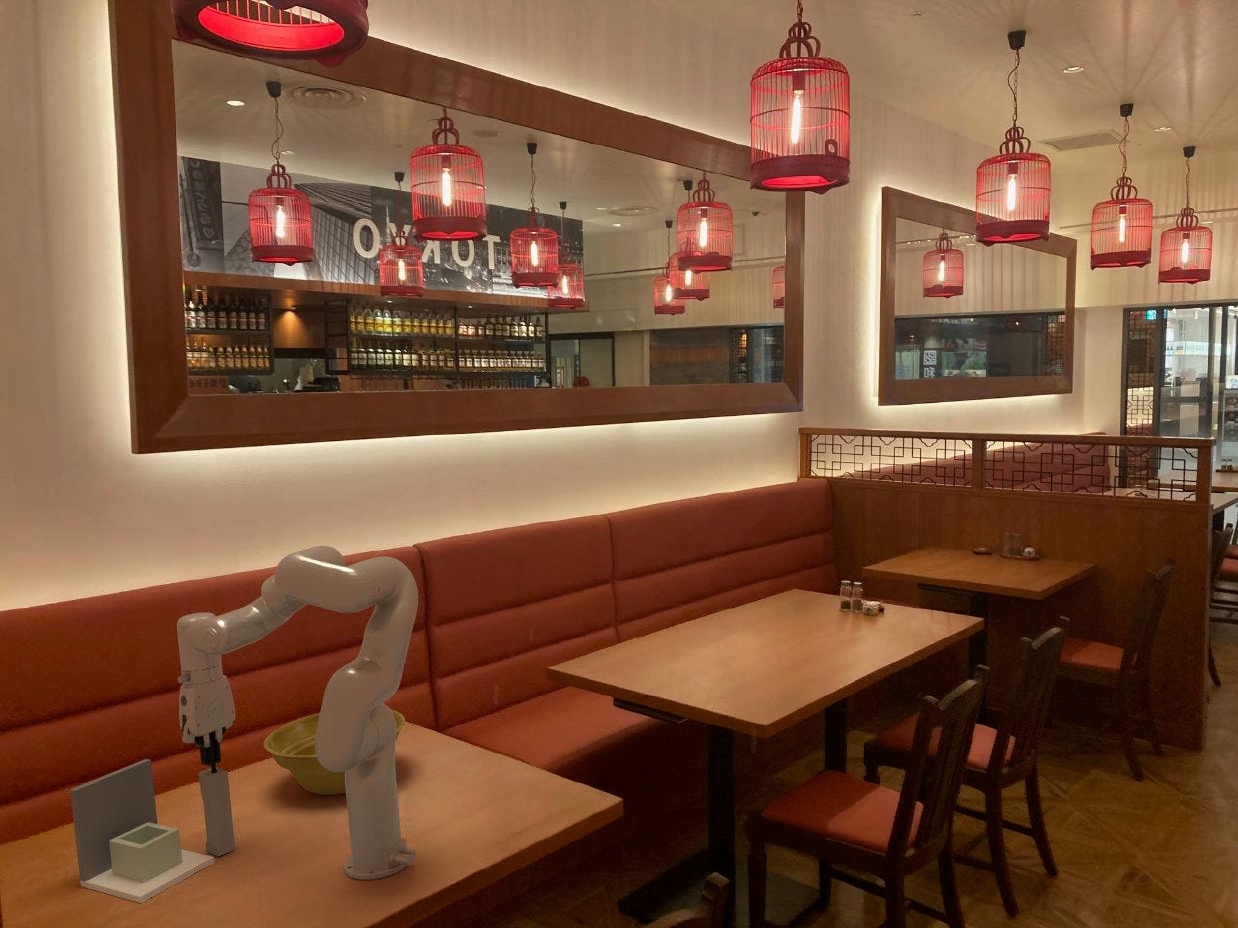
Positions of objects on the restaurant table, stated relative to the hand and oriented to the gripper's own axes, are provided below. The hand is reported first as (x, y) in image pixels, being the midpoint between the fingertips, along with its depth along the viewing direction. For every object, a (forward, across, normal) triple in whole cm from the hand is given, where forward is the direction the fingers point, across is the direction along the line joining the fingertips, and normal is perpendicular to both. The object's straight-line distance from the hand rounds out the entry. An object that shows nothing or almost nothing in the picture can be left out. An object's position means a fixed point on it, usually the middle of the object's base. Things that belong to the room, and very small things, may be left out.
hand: (211, 762), depth 190 cm
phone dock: (+19, -12, +6) cm, 23 cm away
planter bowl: (+19, +35, +1) cm, 40 cm away
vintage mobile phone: (+19, 0, 0) cm, 19 cm away
